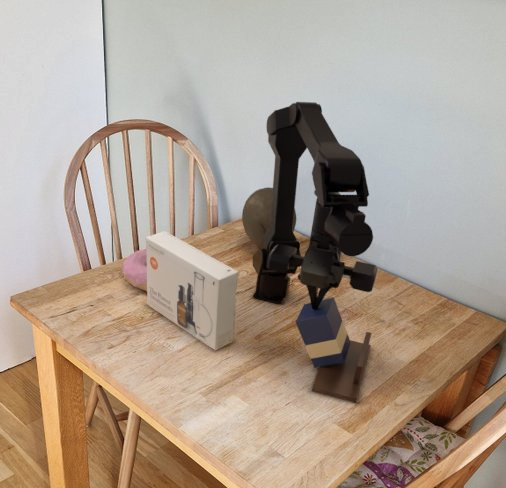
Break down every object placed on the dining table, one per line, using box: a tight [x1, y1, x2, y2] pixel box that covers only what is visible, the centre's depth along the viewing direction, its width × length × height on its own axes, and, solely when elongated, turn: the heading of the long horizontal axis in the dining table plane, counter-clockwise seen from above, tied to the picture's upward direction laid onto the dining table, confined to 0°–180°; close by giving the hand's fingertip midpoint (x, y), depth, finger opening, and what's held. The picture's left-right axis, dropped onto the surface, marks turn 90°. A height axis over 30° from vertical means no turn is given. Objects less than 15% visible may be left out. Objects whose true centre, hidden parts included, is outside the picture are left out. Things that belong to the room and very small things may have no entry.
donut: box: [121, 248, 147, 292], centre depth 136 cm, size 16×15×5 cm
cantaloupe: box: [241, 186, 297, 248], centre depth 154 cm, size 14×14×15 cm
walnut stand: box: [311, 331, 372, 404], centre depth 114 cm, size 8×18×5 cm, turn 163°
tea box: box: [295, 296, 351, 369], centre depth 114 cm, size 10×7×6 cm
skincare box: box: [145, 230, 239, 351], centre depth 119 cm, size 21×5×16 cm, turn 46°
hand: (314, 308), depth 112 cm, fingers closed
